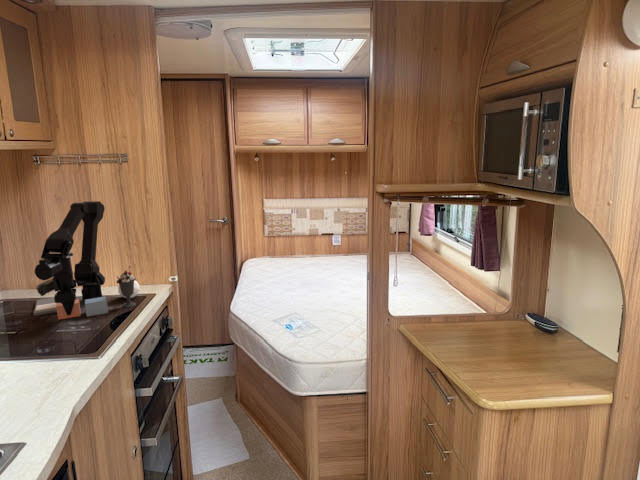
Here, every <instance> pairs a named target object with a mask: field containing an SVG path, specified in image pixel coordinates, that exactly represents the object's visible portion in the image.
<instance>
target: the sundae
mask: <svg viewBox="0 0 640 480" xmlns="http://www.w3.org/2000/svg"><path fill="white" fill-rule="evenodd" d="M130 269H131V266H130V265H129V266H128V268H127V270H125V271H124V272H123V273H121V275H120V277H119V276H116V278H117V280H116V284H118V286H119V285H120V289H121V292H122V294H123V295H124V296H125V297H127V298H126V303H124V304H122V305H121V306H122V308H127V309H129V308H133V307H135V306H136V305H137V303H136V302H132V301H131V298H130V296H131V295H132V294H133V292H134V281H137V280H136V279H137V278H135V277H134V275H133V274H132V272H131V271H130Z"/></svg>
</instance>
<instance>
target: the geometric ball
mask: <svg viewBox="0 0 640 480" xmlns="http://www.w3.org/2000/svg"><path fill="white" fill-rule="evenodd" d="M117 289H118V294H119V295H120V296H121V298H124V299H127V297H125V296H124V295H123V294H122V292H121V289H120V285H119V284H118V288H117ZM139 292H140V284H139V283H138V281H137V280H135V281H134V292H133V294H132V295H131V296H130V299H133V298H135V297H136V296H137V295H138V293H139Z"/></svg>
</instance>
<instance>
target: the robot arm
mask: <svg viewBox="0 0 640 480" xmlns="http://www.w3.org/2000/svg"><path fill="white" fill-rule="evenodd" d="M104 213H105V205H104V204H103V203H102V202H101V201H82V202H73V203H71V204H70V209H69V210H68V212H67V214H66V216H65V217H64V219H63V221H62V222H61V224H60V226H59V227H58V229H57V230H55V231H54V232H52V233H50V234H49V236H48V237H47V238H46V239H45V241H44V246H43V249H42V254H41V256H40V258H41V259H39V260H38V264H37V265H36V266H35V268H34V274H35V276H36V277H37V278H38V279H39V280H41V281H43V282H42V283H39V284H37V285H36V288H35V289H36V291H37V293H38V294H39V295H40V297H43V296H46V294H48V293H50V292H53V291H54V292H56V293H55V294H54V295H53V296H54V299H55V303H62V305H63V307H64V309H65V311H66V314H67V315H71V312H72V309H73V306H74V302H75V300H76V299H77V295H76V293H77V287H82V288H81V289H80V290H81V291H80V292H81V297H82V301H83V303H84V304H85V300H86V299H93V298H99V297H103V294H102V285H105V283H106V277H105V275H103V274H102V273H101V272H100V266H99V264H98V263H97V261H96V257H97V255H96V254H97V243H98V242H97V241H98V227H99V223H100V222H101V221H102V220H103V218H104ZM81 222H83V230H82V232H83V233H82V243H81V257H80V260H79V262H78V263H75V264H74V272H73V268H72V260H71V257H72V256H74V253H73V252H71V250H72V248H73V245H74V243H75V241H74V237H73V236H74V234H75V232H76V231H77V229H78V227H79V225H80V223H81Z"/></svg>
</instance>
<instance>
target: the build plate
mask: <svg viewBox="0 0 640 480" xmlns="http://www.w3.org/2000/svg"><path fill="white" fill-rule="evenodd" d="M56 304H57V303H55V299H54V297H48V298H41V299H37V300H36V303H35V307H34V309H33V316H34V317H35V316H41V315H46V314H54V313H57V308H56Z"/></svg>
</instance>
